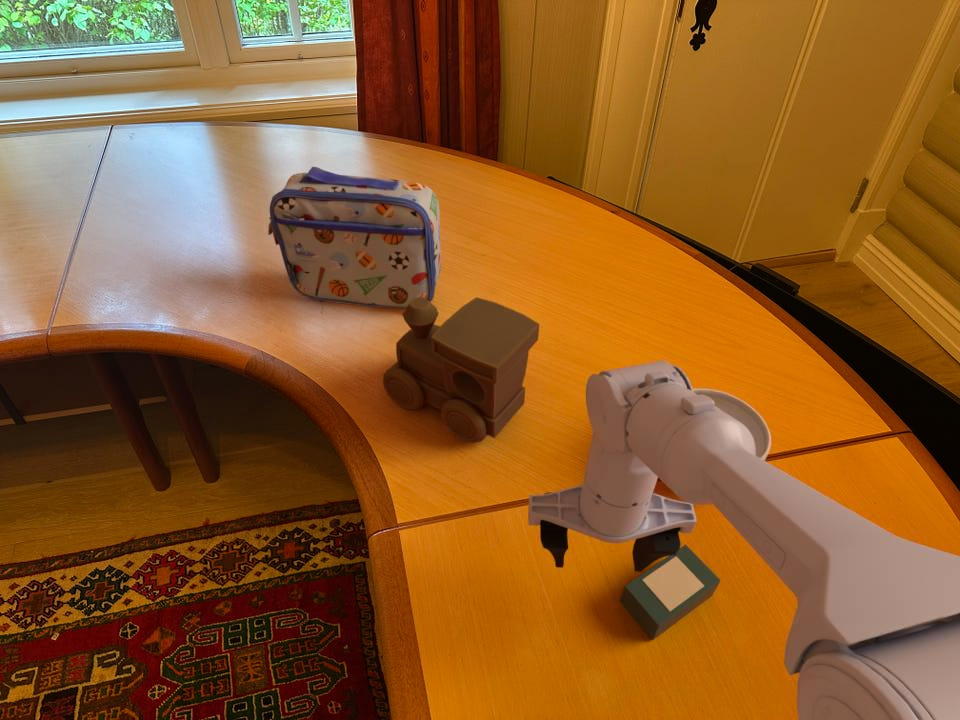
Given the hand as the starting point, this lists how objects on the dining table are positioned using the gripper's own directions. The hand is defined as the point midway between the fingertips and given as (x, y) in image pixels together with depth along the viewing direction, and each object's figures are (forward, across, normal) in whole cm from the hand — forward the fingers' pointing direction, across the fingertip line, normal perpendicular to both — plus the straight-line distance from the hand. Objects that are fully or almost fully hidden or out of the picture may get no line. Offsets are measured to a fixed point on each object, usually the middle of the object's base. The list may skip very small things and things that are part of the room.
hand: (597, 560), depth 60 cm
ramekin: (+9, -16, -20) cm, 27 cm away
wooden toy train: (+9, +17, -28) cm, 34 cm away
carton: (+9, -9, -1) cm, 12 cm away
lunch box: (+9, +35, -53) cm, 64 cm away
